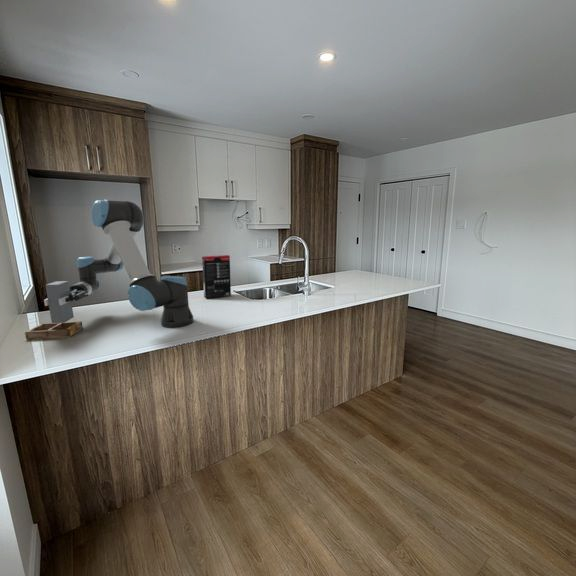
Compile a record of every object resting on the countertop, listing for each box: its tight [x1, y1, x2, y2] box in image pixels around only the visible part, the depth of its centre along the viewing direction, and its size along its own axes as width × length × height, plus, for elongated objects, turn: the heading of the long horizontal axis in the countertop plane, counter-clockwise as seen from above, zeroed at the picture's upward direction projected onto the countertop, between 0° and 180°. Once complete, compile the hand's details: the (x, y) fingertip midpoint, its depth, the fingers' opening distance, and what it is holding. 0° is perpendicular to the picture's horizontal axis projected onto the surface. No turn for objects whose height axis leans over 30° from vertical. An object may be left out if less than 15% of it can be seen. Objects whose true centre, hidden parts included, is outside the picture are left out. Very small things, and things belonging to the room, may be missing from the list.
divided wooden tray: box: [24, 321, 84, 341], centre depth 142 cm, size 12×18×4 cm
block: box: [45, 280, 75, 323], centre depth 140 cm, size 8×5×17 cm, turn 8°
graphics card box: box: [201, 254, 232, 300], centre depth 206 cm, size 17×7×27 cm, turn 118°
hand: (52, 302), depth 134 cm, fingers closed on block, 5 cm apart
